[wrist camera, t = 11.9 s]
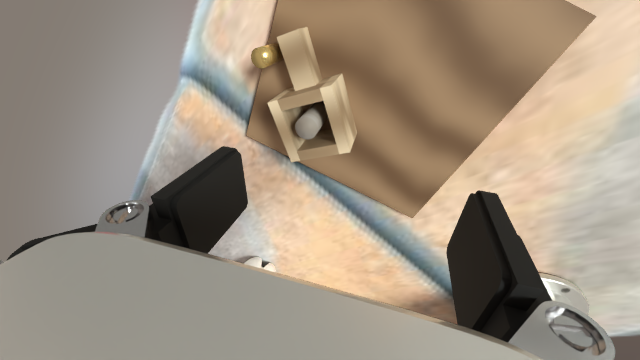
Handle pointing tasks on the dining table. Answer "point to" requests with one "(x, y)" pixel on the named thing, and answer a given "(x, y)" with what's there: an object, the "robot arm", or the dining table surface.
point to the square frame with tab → (307, 92)
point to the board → (415, 82)
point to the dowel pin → (266, 55)
